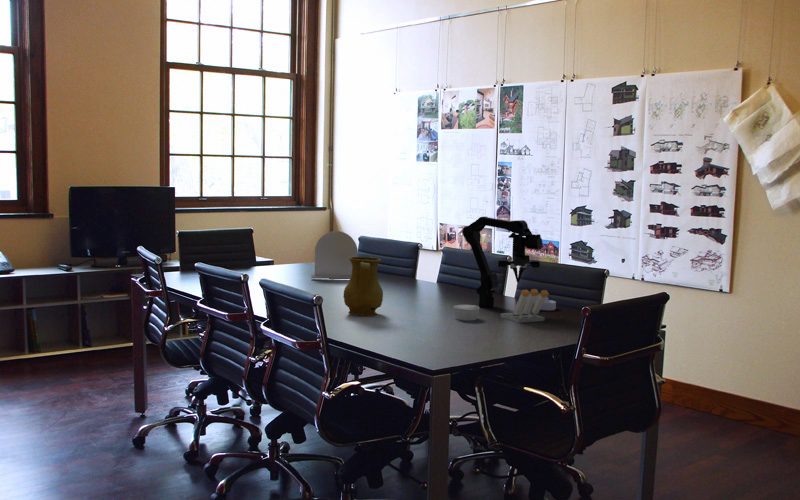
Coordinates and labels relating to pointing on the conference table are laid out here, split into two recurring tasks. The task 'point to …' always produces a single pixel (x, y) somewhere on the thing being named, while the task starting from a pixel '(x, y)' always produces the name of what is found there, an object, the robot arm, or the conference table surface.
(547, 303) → the wedge on round base
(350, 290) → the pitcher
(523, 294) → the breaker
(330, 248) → the award
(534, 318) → the panel
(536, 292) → the grey long bar piece
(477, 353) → the conference table surface
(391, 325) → the conference table surface
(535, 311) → the tripped breaker
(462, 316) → the ramekin
